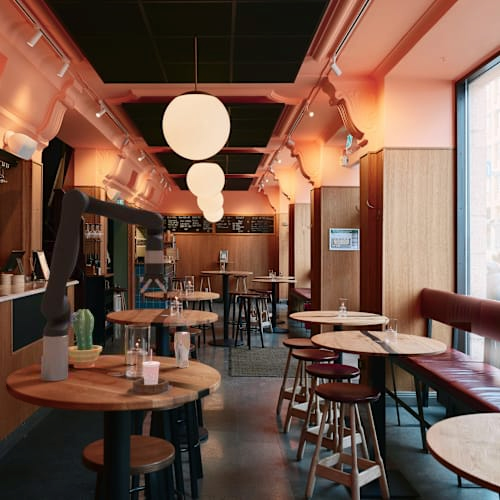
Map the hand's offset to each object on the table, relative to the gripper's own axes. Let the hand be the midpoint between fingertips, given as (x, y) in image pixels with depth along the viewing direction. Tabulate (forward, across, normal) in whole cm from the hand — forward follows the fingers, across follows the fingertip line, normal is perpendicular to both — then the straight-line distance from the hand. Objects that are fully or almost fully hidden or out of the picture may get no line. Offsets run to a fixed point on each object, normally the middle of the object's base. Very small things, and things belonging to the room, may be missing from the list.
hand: (153, 302), depth 212 cm
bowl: (+30, +2, -21) cm, 36 cm away
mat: (+30, +2, -21) cm, 37 cm away
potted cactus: (+30, -33, +22) cm, 50 cm away
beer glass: (+30, +10, +20) cm, 38 cm away
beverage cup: (+29, +2, -21) cm, 36 cm away
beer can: (+30, -13, +26) cm, 42 cm away
